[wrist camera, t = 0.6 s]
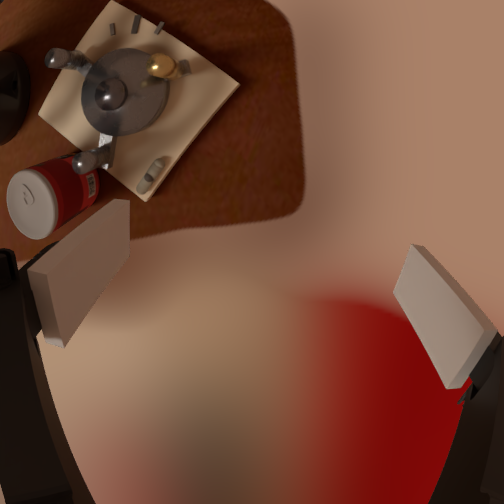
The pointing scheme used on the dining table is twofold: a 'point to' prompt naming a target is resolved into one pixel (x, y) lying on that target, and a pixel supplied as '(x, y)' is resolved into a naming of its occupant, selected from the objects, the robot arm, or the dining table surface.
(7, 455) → the robot arm
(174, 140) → the stand
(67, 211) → the canned food
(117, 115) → the cam capstan
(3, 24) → the dining table surface
